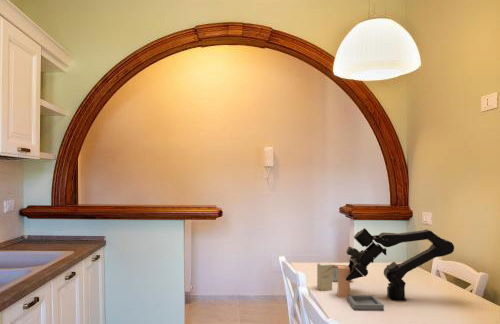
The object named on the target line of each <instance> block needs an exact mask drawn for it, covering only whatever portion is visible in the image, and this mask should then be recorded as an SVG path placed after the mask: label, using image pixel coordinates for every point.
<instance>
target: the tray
mask: <svg viewBox="0 0 500 324" xmlns="http://www.w3.org/2000/svg"><path fill="white" fill-rule="evenodd" d="M346 301H347V302H348V303H350V304H349V305H350V306H351V308H352V307H353V308H352V309H353V310H354V311H371V312H373V311H374V312H375V311H376V312H377V311H378V312H379V311H380V312H381V311H383V312H384V310H385V305H384V303H382V302H381V301H380V300H379V298H377V297H376V296H375V294H374V295H372V294H371V295H369V294H367V295H366V294H363V295H362V294H350V295H347V298H346Z"/></svg>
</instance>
